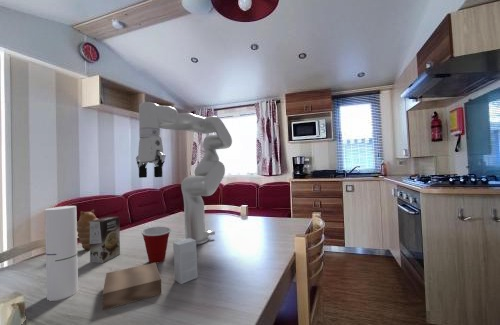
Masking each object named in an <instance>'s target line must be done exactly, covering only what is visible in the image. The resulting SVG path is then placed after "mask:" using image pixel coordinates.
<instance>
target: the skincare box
mask: <svg viewBox="0 0 500 325" xmlns="http://www.w3.org/2000/svg"><path fill="white" fill-rule="evenodd" d="M172 245H173V246H172V247H173V264H174V265H173V266H174V281H175V282H177V283H179V284H180V285H183V284H185V283H188V282H189V281H193V280H195V279H197V278H198V277H199V275H198V256H197V255H198V254H197V252H198V251H197V245H196V240H193V239H191V238H188V239H185V240H183V239H182V240H178V241H174V242H173V243H172Z"/></svg>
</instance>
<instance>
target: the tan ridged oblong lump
mask: <svg viewBox="0 0 500 325" xmlns="http://www.w3.org/2000/svg"><path fill="white" fill-rule="evenodd" d="M97 219H99V218H97V216H96V215H95V209H91V210H90V211H82V210H81V211H80V215H79V219H77V220H78V221H77V238H78V239H79V240H78V241H79V243H80V244H81V247H82V249H83V250H90V221H93V220H97Z"/></svg>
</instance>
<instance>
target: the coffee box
mask: <svg viewBox="0 0 500 325" xmlns="http://www.w3.org/2000/svg"><path fill="white" fill-rule="evenodd" d="M120 238H121V235H120V216H107V217H102V218H98V219H97V220H93V221H90V249H89V262H90V263H99V264H103V263H105V262H107V261H110V260H111V259H114V258H115V257H117V256H120V255H121V244H120V243H121V240H120Z"/></svg>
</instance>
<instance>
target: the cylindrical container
mask: <svg viewBox="0 0 500 325" xmlns="http://www.w3.org/2000/svg"><path fill="white" fill-rule="evenodd" d="M77 215H78V214H77V205H64V206H56V207H47V208H45V209H44V220H45V221H44V226H45V227H44V228H45V230H44V232H45V235H44V236H45V271H46V272H45V275H46V277H45V279H46V285H45V286H46V300H47V301H48V300H49V302H55V301H61V300H64V299H67V298H69V297H71V296H73V295H75V294H76V293H78V291H79V266H78V265H79V261H78V232H77V222H78V221H77V220H78V218H77V217H78V216H77Z"/></svg>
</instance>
